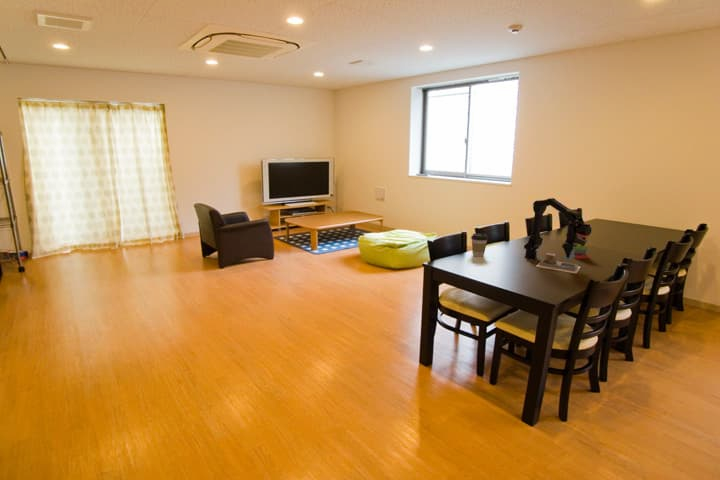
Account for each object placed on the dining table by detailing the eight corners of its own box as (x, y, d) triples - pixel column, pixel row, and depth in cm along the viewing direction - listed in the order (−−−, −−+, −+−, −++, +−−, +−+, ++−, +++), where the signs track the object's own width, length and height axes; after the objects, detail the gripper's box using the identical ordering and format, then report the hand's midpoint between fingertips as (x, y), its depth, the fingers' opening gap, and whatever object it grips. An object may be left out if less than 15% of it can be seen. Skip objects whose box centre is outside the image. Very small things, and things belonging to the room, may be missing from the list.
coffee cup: (487, 258, 275) (489, 237, 271) (470, 257, 277) (471, 236, 273) (485, 254, 285) (487, 233, 282) (469, 253, 288) (470, 232, 284)
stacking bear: (576, 259, 274) (580, 233, 269) (566, 255, 283) (569, 230, 279) (590, 258, 276) (594, 233, 271) (580, 254, 285) (583, 229, 281)
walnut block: (544, 265, 259) (545, 254, 257) (546, 263, 263) (547, 252, 261) (552, 266, 256) (554, 255, 254) (554, 264, 260) (556, 254, 258)
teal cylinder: (563, 259, 252) (564, 248, 250) (565, 257, 255) (566, 246, 254) (572, 260, 249) (573, 249, 247) (573, 259, 253) (575, 248, 251)
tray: (536, 266, 258) (536, 262, 257) (541, 261, 269) (542, 257, 268) (576, 273, 244) (576, 269, 244) (580, 267, 255) (581, 264, 255)
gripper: (584, 237, 236) (580, 262, 240) (589, 231, 250) (585, 255, 254) (563, 234, 242) (560, 259, 246) (569, 229, 257) (566, 252, 261)
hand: (568, 256), depth 252 cm, fingers closed on teal cylinder, 5 cm apart
